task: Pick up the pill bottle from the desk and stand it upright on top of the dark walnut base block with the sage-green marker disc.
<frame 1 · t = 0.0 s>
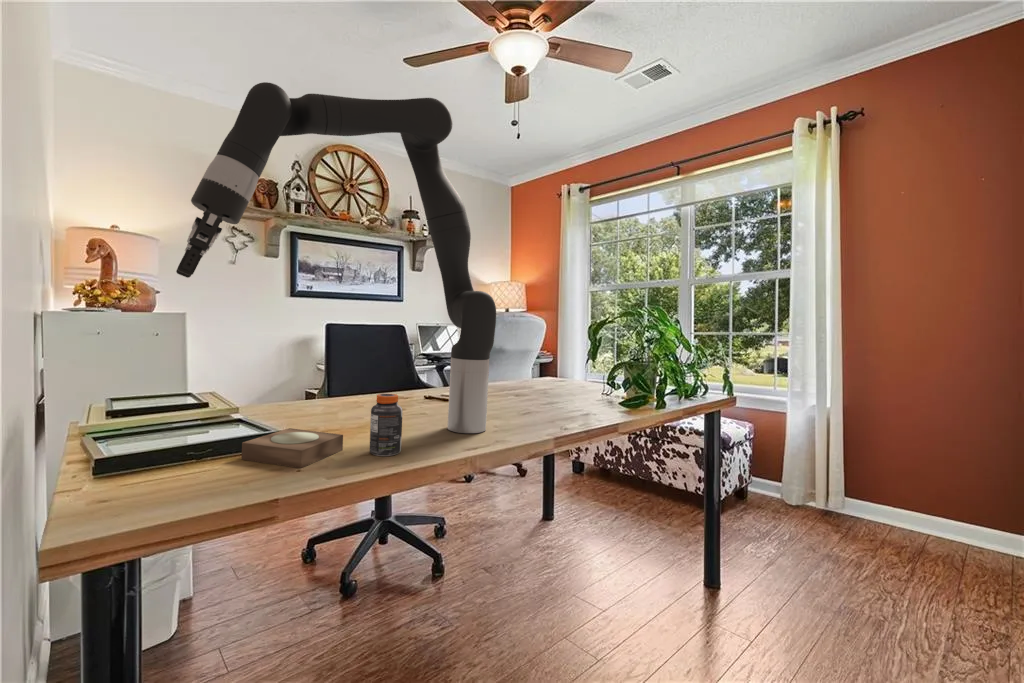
hand: (183, 274, 79), 31 cm above the table, tool tilted 20°, fingers open, 8 cm apart
pill bottle: (385, 453, 91), on the table
walnut base: (294, 454, 87), on the table
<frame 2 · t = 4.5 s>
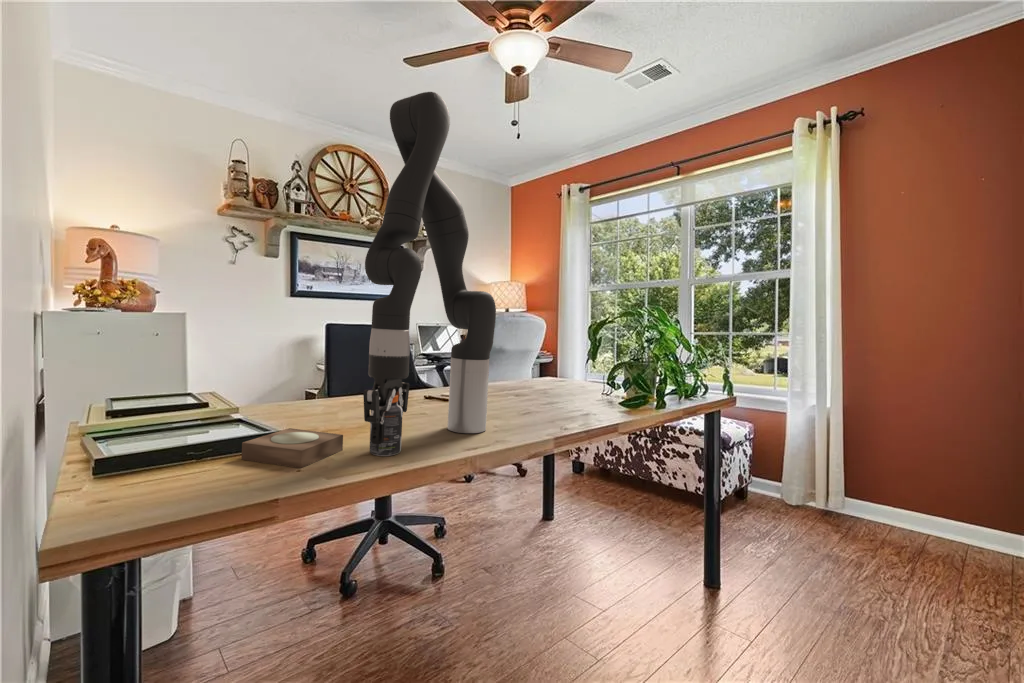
hand: (385, 439, 91), 3 cm above the table, tool pointing down, fingers closed on pill bottle, 6 cm apart
pill bottle: (385, 453, 91), on the table, touching gripper
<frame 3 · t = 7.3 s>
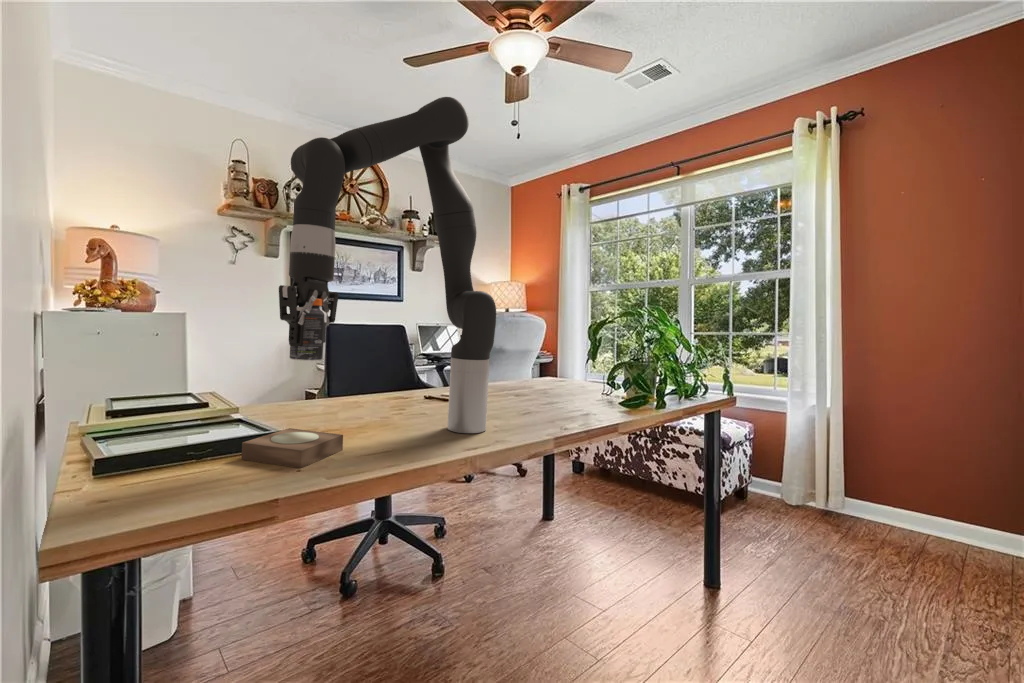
hand: (307, 345, 86), 20 cm above the table, tool pointing down, fingers closed on pill bottle, 6 cm apart
pill bottle: (307, 360, 86), point 17 cm above the table, touching gripper
when the fingers open (7 cm above the table, at t = 10.2 s): pill bottle drops 1 cm, resting on walnut base.
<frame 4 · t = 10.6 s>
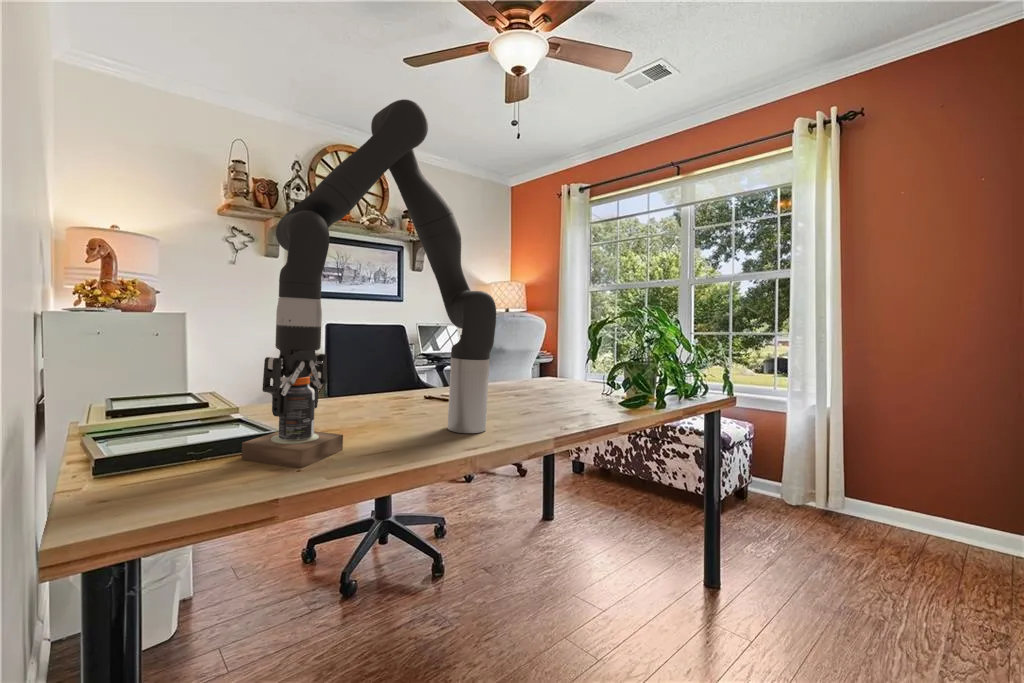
hand: (296, 412, 86), 8 cm above the table, tool pointing down, fingers open, 8 cm apart
pill bottle: (296, 438, 87), point 3 cm above the table, touching walnut base
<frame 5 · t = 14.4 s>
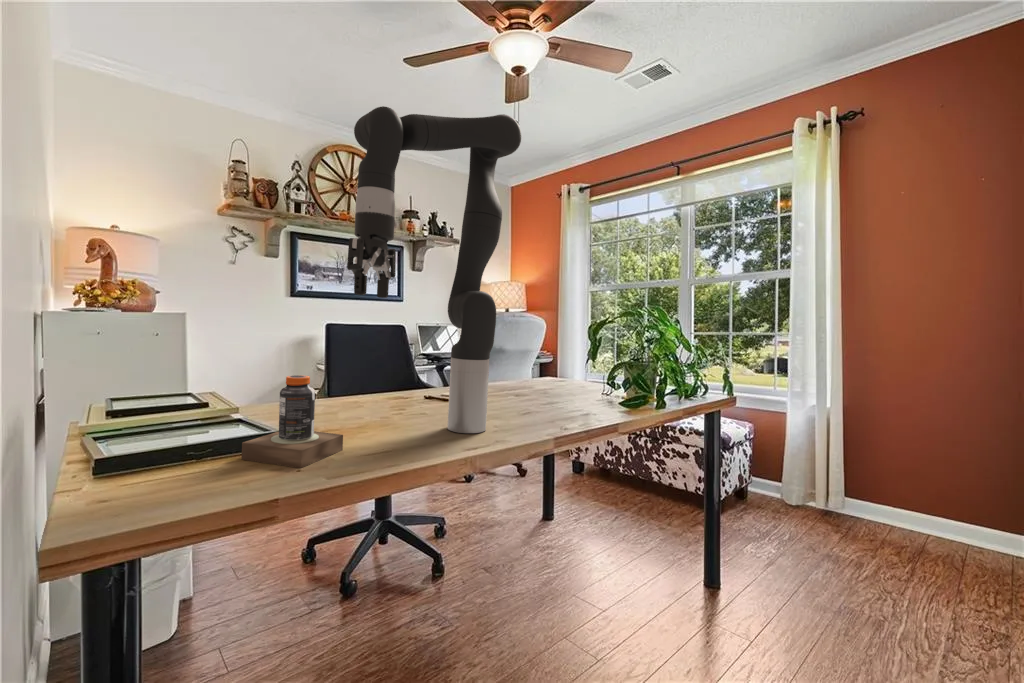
hand: (371, 296, 94), 30 cm above the table, tool pointing down, fingers open, 8 cm apart
nothing on the table moved.
at the end: pill bottle inside the target area on the walnut base (0.2 cm from its centre), point 3.0 cm above the walnut base's base; pill bottle tilted 0°; the gripper is holding nothing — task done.
